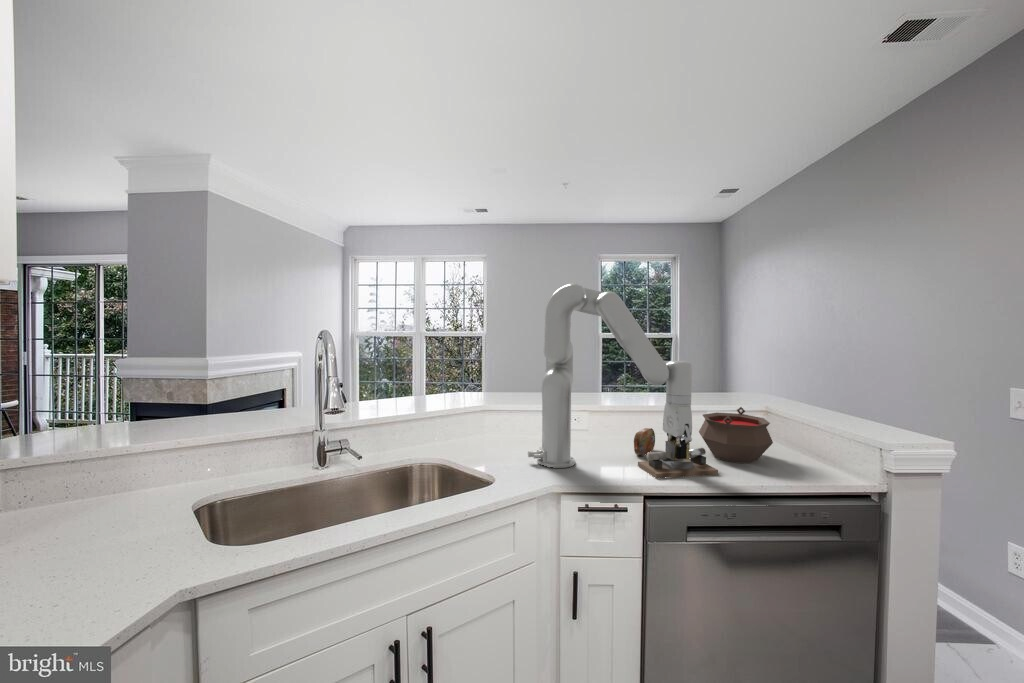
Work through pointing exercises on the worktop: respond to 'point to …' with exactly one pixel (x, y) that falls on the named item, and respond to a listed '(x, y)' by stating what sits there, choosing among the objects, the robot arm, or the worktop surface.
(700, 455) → the shaft
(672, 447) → the coupler
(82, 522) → the worktop surface
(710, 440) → the brown cooking pot
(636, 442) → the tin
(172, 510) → the worktop surface
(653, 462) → the rig
